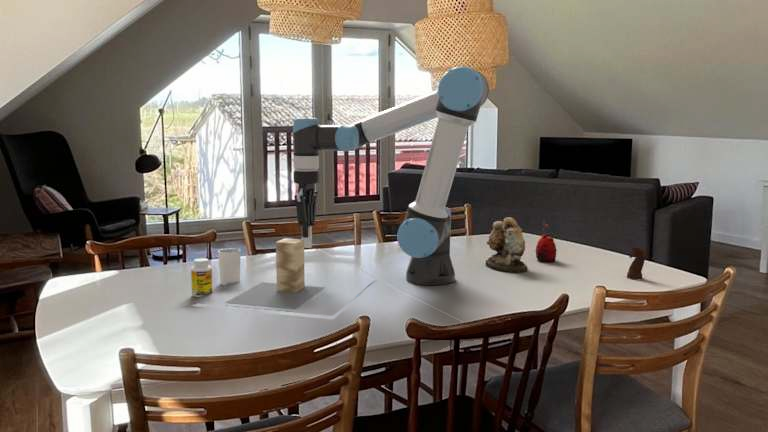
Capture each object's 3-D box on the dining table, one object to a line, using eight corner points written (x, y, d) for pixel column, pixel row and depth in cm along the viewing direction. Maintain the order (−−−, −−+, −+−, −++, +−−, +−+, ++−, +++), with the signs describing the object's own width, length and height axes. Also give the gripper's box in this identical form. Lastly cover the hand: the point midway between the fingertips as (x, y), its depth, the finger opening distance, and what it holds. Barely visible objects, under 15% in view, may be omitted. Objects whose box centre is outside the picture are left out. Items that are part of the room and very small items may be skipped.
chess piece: (630, 275, 204) (632, 245, 203) (646, 278, 201) (648, 247, 199) (624, 277, 201) (626, 247, 199) (640, 280, 197) (642, 249, 196)
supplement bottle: (195, 299, 174) (194, 262, 172) (189, 294, 178) (188, 258, 177) (215, 296, 177) (214, 260, 175) (209, 291, 181) (207, 256, 180)
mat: (325, 290, 184) (325, 287, 184) (295, 312, 163) (295, 309, 163) (262, 284, 189) (262, 282, 189) (225, 305, 168) (225, 302, 168)
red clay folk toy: (560, 261, 223) (562, 219, 221) (546, 264, 219) (548, 221, 217) (543, 257, 229) (545, 216, 227) (530, 259, 225) (532, 218, 223)
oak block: (304, 286, 184) (304, 239, 182) (296, 292, 178) (295, 243, 176) (285, 284, 186) (285, 238, 184) (276, 290, 180) (275, 242, 178)
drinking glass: (245, 281, 193) (245, 249, 191) (233, 286, 186) (232, 253, 185) (226, 279, 195) (225, 247, 193) (214, 284, 188) (213, 251, 187)
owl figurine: (474, 263, 219) (476, 214, 217) (501, 260, 225) (503, 212, 222) (508, 274, 204) (510, 222, 201) (536, 270, 209) (538, 220, 207)
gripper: (302, 167, 196) (303, 242, 200) (285, 171, 184) (286, 250, 187) (325, 168, 194) (326, 244, 198) (309, 172, 182) (310, 252, 185)
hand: (306, 247), depth 193 cm, fingers closed
